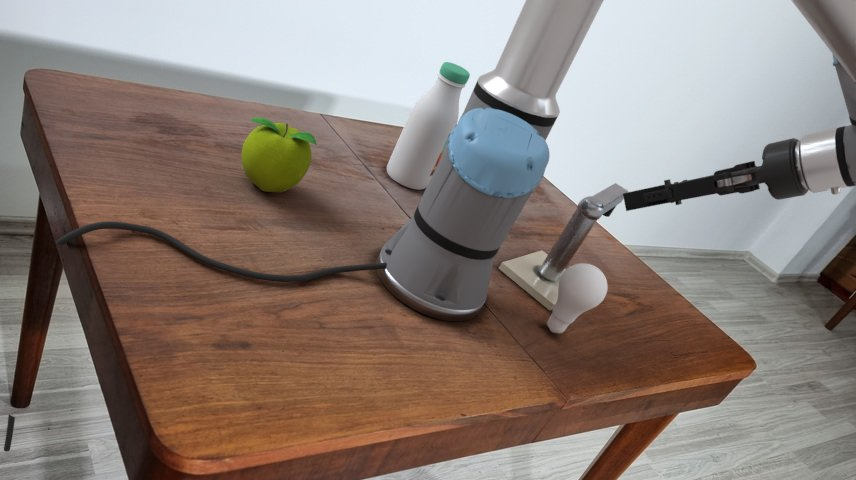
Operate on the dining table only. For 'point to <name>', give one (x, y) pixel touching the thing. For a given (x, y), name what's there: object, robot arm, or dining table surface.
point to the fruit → (276, 155)
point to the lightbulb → (577, 295)
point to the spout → (580, 229)
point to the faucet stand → (532, 277)
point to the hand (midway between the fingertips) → (626, 201)
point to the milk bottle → (428, 129)
